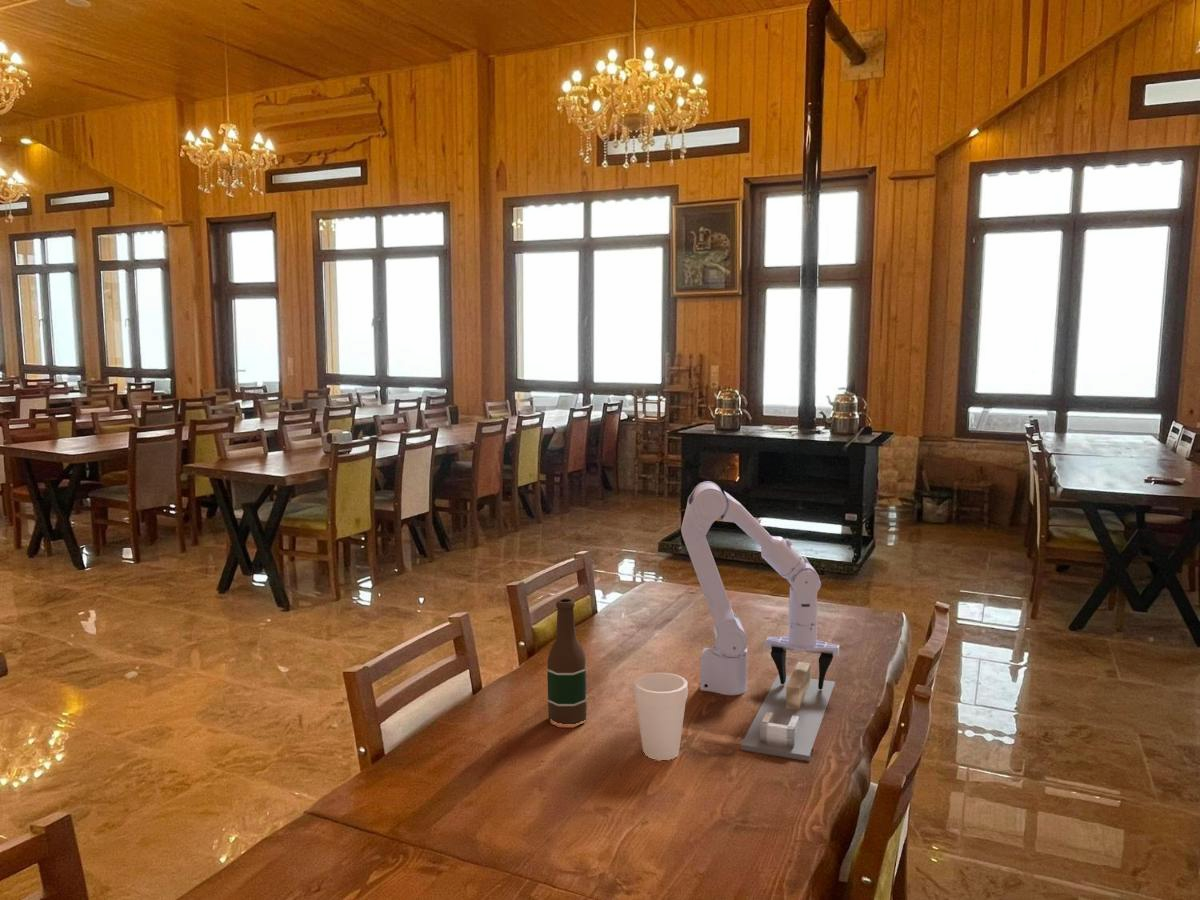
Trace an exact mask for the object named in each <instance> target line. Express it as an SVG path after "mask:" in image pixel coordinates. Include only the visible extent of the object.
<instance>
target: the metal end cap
mask: <svg viewBox="0 0 1200 900" xmlns="http://www.w3.org/2000/svg"><path fill="white" fill-rule="evenodd" d="M798 735H799V716H793V715H792V718H791V720H790V722H789V725H788V726H787V725H781V724H774V723H773V712H766V714H765V716H764V718H763V720H762V722H761V724H760V743H764V744H770V745H776V746H782V747H788V748H794V746H795V743H796V741H797V738H798Z"/></svg>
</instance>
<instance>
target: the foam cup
mask: <svg viewBox="0 0 1200 900" xmlns="http://www.w3.org/2000/svg"><path fill="white" fill-rule="evenodd" d="M688 685H689V683H688V680H687V679H685V677H683V676H680V675H679V674H676V673H671V672H666V671H665V672H649V673H645V674H642V675H640V676H638V677H636V678H635V679H634V682H633V696H634V699H635V704H636V705H635V706H636V710H637V719H638V724H639V725H638V726H639V731H640V732H639V733H640V738H641V739H640V740H641V747H642V751H643V752H644V753H645V755H646V756H648V757H649V758H652V759H657V760H668V761H671V760H670V759H672V760H674V759H676V758H677V757H678V756H679V754H680V748H681V747H680V746H681V739H682V733H683V725H684V717H685V709H686V703H687V702H686V701H687V699H688V695H689V691H688V690H689V689H688ZM644 753H643V754H644ZM645 755H644V756H645ZM646 756H645V757H646ZM675 757H676V758H675ZM649 758H648V759H649ZM673 758H674V759H673Z"/></svg>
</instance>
